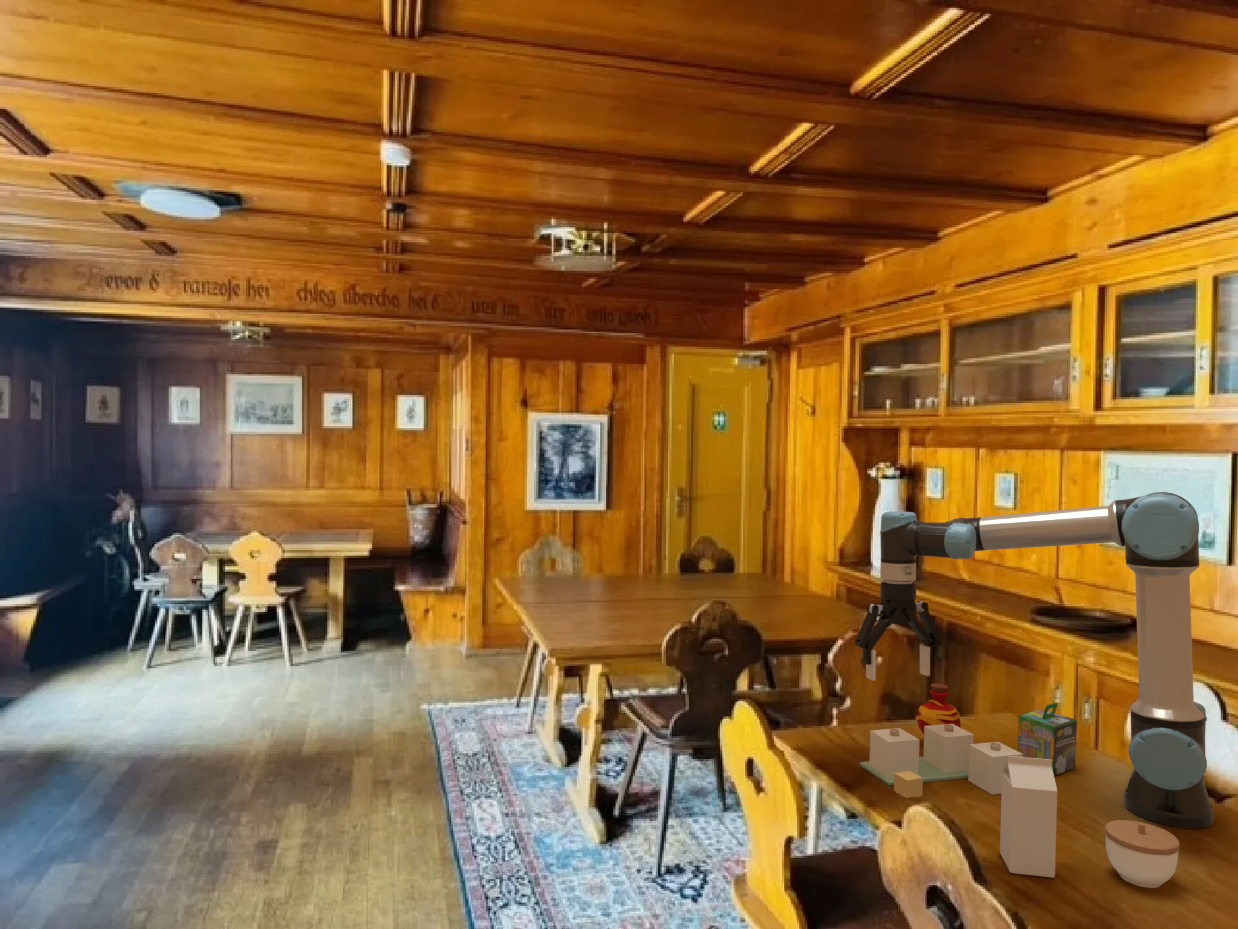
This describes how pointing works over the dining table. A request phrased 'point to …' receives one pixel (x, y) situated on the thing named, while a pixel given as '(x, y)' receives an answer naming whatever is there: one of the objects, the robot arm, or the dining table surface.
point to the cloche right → (989, 765)
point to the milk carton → (1028, 816)
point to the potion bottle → (937, 709)
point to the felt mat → (925, 772)
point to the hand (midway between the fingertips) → (898, 676)
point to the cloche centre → (947, 747)
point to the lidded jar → (1141, 852)
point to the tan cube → (908, 784)
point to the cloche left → (893, 751)
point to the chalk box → (1048, 738)
